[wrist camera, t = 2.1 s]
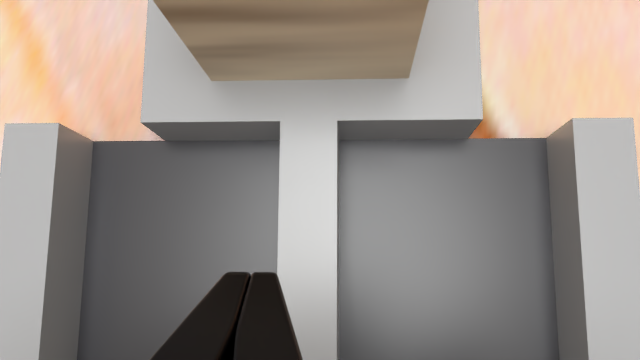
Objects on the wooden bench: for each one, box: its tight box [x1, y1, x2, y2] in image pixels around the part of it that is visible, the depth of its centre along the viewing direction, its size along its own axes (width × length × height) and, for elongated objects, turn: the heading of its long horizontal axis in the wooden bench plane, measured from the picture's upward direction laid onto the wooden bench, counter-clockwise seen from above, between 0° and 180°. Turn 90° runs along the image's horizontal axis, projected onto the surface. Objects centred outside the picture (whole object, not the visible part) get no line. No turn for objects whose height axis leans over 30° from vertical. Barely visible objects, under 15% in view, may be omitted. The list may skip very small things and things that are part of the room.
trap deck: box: [0, 0, 640, 360], centre depth 23 cm, size 30×22×3 cm
